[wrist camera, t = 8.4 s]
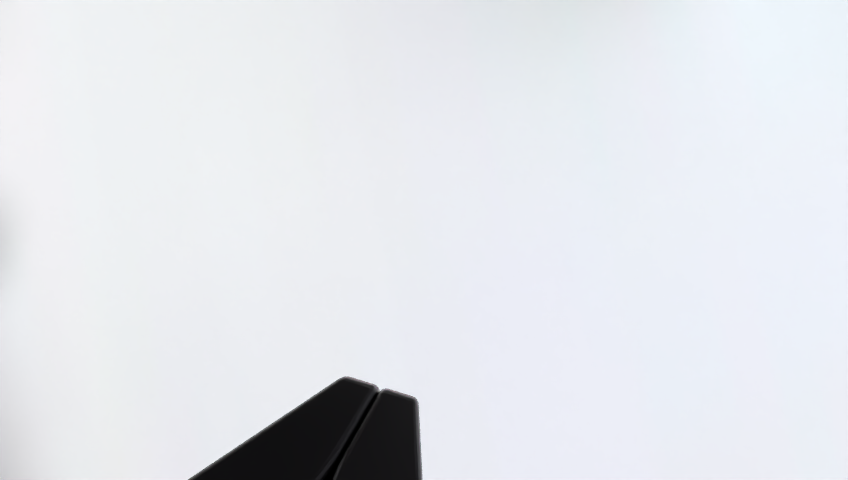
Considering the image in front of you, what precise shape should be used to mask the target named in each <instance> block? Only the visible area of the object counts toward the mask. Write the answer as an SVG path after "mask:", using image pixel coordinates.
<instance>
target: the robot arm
mask: <svg viewBox="0 0 848 480" xmlns="http://www.w3.org/2000/svg"><path fill="white" fill-rule="evenodd" d="M188 480H422V462H421V442H420V423H419V405H418V401H417V399H416V398H415V397H413V396H410V395H406V394H403V393H400V392H397V391H394V390H390V389H383V390H381V391H379V388H378V387H377V386H376V385H374V384H371V383H368V382H365V381H362V380H358V379H355V378H352V377H342V378H340V379H338V380H337V381H335V382H334V383H332V384H331V385H329V386H328V387H326V388H325V389H323V390H322V391H320V392H319V393H317V394H316V395H314V396H313V397H311V398H310V399H308V400H307V401H305V402H304V403H302V404H301V405H299V406H298V407H296V408H295V409H293V410H292V411H290V412H289V413H287V414H286V415H284V416H283V417H281V418H280V419H278V420H277V421H275V422H274V423H272V424H271V425H269V426H268V427H266V428H265V429H263V430H262V431H260V432H259V433H257V434H256V435H254V436H253V437H251V438H250V439H248V440H247V441H245V442H244V443H242V444H241V445H239V446H238V447H236V448H235V449H233V450H232V451H230V452H229V453H227V454H226V455H224V456H223V457H221V458H220V459H218V460H217V461H215V462H214V463H212V464H211V465H209V466H208V467H206V468H205V469H203V470H202V471H200V472H199V473H197V474H196V475H194V476H193V477H191V478H190V479H188Z"/></svg>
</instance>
